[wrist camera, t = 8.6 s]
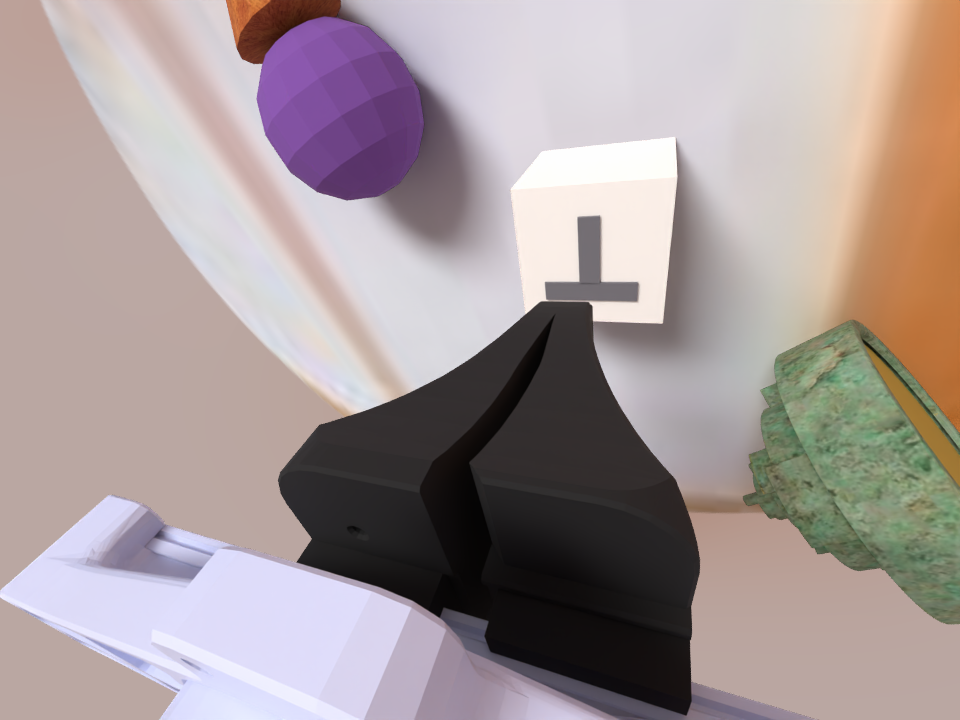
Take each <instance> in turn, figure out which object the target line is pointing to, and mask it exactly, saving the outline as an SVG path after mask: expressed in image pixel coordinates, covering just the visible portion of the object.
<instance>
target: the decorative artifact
mask: <svg viewBox="0 0 960 720" xmlns="http://www.w3.org/2000/svg"><path fill="white" fill-rule="evenodd" d="M774 369H775V377H776V382H777V383H775V384H773V385H771V386H768V387H766V388H764V389H762V390H760V391H761V393H762V394H763V396H764V398H765V400H766V401H767V403H768V405H769V407H770V408H767V409H765V410H764V411H763V413H762V415H761V430H762V435H763V439H764V443H765V446H766V449H763V450H761V451H758V452H755V453H752V454H749V458H750V462H751V463H750V464H749V468H750V469H751V471H752V472H753V482H754V486H755V489H756V492H755V493H752V494H748V495H745V496H743V500H744V502H745V503H746V505H747V506H751V505H755V504H759V505H760V506H761V508H762V509H763V511H764V512H765V514H766V515H767V516H768V517H769V518H770V519H772V518H777V519H779V520H783V519H786V518H788V519H789V520H790V522H791V523H792V524H793V525H795V527H797V528H798V529H799V531H800V532H801V534H802V535H803V537H804V538H805V539H806V541H807V542H808V543H809V545H810V546H811V547H812V548H815V550H816V552H817V554H824V553H829V552H830V553H831V554H833V555H834V556H835V557H836V558H837V559H838V560H839V561H840V562H841V563H843V564H844V565H846V566H847V567H849V568H851V569H853V570H857V571H863V570H870V569H877V568H881V569H882V570H885V571H886V572H887V573H888V574H889V576H890V577H891V578H892V579H893V580H894V581H895V583H896V584H897V585H898V586H899V587H900V588H901V589H902V590H903V591H904V592H905V593H906V594H907V595H908V596H909V597H910V598H911V599H912V600H913V601H914V602H915V603H916V604H917V605H918V606H919V607H921V608H922V609H923V610H924V611H925V612H927V613H928V614H929V615H931V616H932V617H933V618H935V619H937V620H938V621H940V622H943V623H946V624H960V433H959V432H958V431H957V429H956V428H955V427H954V426H953V424H952V423H951V422H950V421H949V419H948V418H947V417H946V416H945V414H944V413H943V412H942V411H941V409H940V408H939V407H938V406H937V404H936V403H935V402H934V401H933V400H932V398H931V397H930V396H929V395H928V393H927V392H926V391H925V390H924V389H923V387H922V386H921V385H920V384H919V383H918V382H917V380H916V379H915V378H914V377H913V376H912V375H911V373H910V372H909V371H908V370H907V369H906V368H905V367H904V365H903V364H902V363H901V362H900V361H899V360H898V359H897V358H896V357H895V355H894V354H893V353H892V352H891V351H890V350H889V349H888V348H887V347H886V346H885V345H884V344H883V343H882V342H881V341H880V340H879V339H878V338H877V337H876V336H875V335H874V334H873V333H872V332H871V331H870V330H868V329H867V328H866V327H865V326H864V325H862V324H861V323H859V322H857V321H855V320H850V321H848V322H845V323H843V324H841V325H839V326H837V327H835V328H833V329H831V330H829V331H827V332H825V333H823V334H821V335H819V336H817V337H815V338H812V339H810V340H808V341H806V342H804V343H802V344H800V345H798V346H796V347H794V348H792V349H790V350H788V351H786V352H784V353H782V354H780V355H778V356H777V357H776V360H775V365H774Z"/></svg>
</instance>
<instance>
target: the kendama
mask: <svg viewBox="0 0 960 720" xmlns="http://www.w3.org/2000/svg"><path fill="white" fill-rule="evenodd" d="M226 2H227V7H228V11H229V16H230V20H231V25H232V29H233V34H234V38H235V43H236V47H237V50H238V52H239V54H240V56H241V58H242V59H243V60H246V61H248V62H250V63H253V64H262V69H261V75H260V81H259V87H258V93H257V103H258V107H259V111H260V115H261V119H262V123H263V127H264V131H265V135H266V136H267V138H268V140H269V141H270V143H271V144H272V146H273V147H274V149H275V150H276V152H277V153H278V155H279V156H280V158H281V159H282V161H283V162H284V164H285V165H286V167H287V168H288V170H289V171H290V172H291V173H292V174H293V175H295V176H296V177H297V178H299V179H300V180H302V181H303V182H304V183H306V184H307V185H308V186H310V187H311V188H312V189H314V190H315V191H316V192H319V193H322V194H326V195H330V196H333V197H337V198H340V199H344V200H354V199H362V198H370V197H377V196H379V195H381V194H383V193H385V192H387V191H388V190H390V189H392V188H393V187H395V186H396V185H397V184H399V183H400V182H401V181H402V179H403V178H404V176H405V175H406V173H407V172H408V170H409V169H410V167H411V166H412V164H413V163H414V161H415V160H416V158H417V157H418V153H419V148H420V143H421V138H422V134H423V129H424V120H423V113H422V107H421V100H420V93H419V90H418V88H417V86H416V84H415V82H414V80H413V78H412V77H411V75H410V73H409V71H408V69H407V67H406V65H405V63H404V61H403V60H402V58H401V57H400V56H399V55H398V54H397V53H396V52H395V51H394V50H393V49H392V48H391V47H390V46H389V45H388V44H386V43H385V42H384V41H383V40H382V39H381V38H380V37H379V36H377V35H376V34H375V33H374V32H373V31H372V30H371V29H370V28H369V27H366V26H363V25H360V24H356V23H353V22H350V21H347V20H343V19H340V18H337V17H336V16H337V14H338V12H339V10H340V7H341V0H226Z"/></svg>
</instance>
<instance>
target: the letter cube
mask: <svg viewBox="0 0 960 720" xmlns="http://www.w3.org/2000/svg"><path fill="white" fill-rule="evenodd" d="M676 186H677V159H676V138H675V137H672V138H662V139H653V140H644V141H634V142H625V143H615V144H606V145H597V146H587V147H578V148H568V149H559V150H550V151H542V152H541V154H540V155H539V156H538V157H537V158H536V160H535V161H534V162H533V163H532V164H531V166H530V167H529V168H528V169H527V170H526V172H525V173H524V174H523V175H522V176H521V178H520V179H519V180H518V181H517V182H516V184H515V185H514V186H513V187H512V188H511V190H510V192H511V200H512V208H513V216H514V224H515V232H516V241H517V249H518V257H519V265H520V273H521V281H522V290H523V298H524V306H525V314H527V313H528V312H529V311H530V310H531V309H532V308H533V307H534V306H536V305H537V304H538V303H539V302H541V301H562V302H589V303H590V304H591V305H592V306H593V321H600V322H630V323H659V324H663V317H664V306H665V296H666V286H667V276H668V266H669V256H670V246H671V236H672V226H673V216H674V206H675V196H676Z"/></svg>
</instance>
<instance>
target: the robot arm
mask: <svg viewBox="0 0 960 720" xmlns="http://www.w3.org/2000/svg"><path fill="white" fill-rule="evenodd" d="M278 482H279V487H280V491H281V495H282V497H283V498H284V500H285V501H286V503H287V505H288V506H289V508H290V509H291V510H292V512H293V513H294V514H295V516H296V517H297V519H298V520H299V521H300V523H301V524H302V526H303V527H304V528H305V530H306V531H307V532H308V534H309V535H310V536H311V538H312V540H311V541H310V543H309V544H308V546H307V547H306V549H305V550H304V552H303V553H302V555H301V556H300V558H299V559H298V561H297V562H293V561H289V560H286V559H282V558H279V557H276V556H272V555H269V554H265V553H262V552H259V551H256V550H252V549H249V548H242V547H239V546H236V545H232V544H229V543H226V542H222V541H219V540H216V539H212V538H209V537H206V536H202V535H199V534H196V533H192V532H189V531H186V530H182V529H179V528H176V527H172V526H169V525H165V524H164V521H163V520H162V518H160V517H159V516H158V514H157V513H155V512H154V511H153V510H152V509H151V508H149V507H147V506H146V505H144V504H142V503H140V502H137V501H133V500H130V499H126V498H123V497H119V496H115V495H109V496H107V497H106V498H105V499H104V500H103V501H101V502H100V503H99V504H98V505H97V506H96V507H95V508H93V509H92V510H91V511H90V512H89V513H88V514H87V515H85V516H84V517H83V518H82V519H81V520H80V521H79V522H78V523H77V524H75V525H74V526H73V527H72V528H71V529H70V530H69V531H67V532H66V533H65V534H64V535H63V536H62V537H60V538H59V539H58V540H57V541H56V542H55V543H54V544H53V545H51V546H50V547H49V548H48V549H47V550H46V551H45V552H43V554H41V555H40V556H39V557H38V558H37V559H35V560H34V561H33V562H32V563H31V564H30V565H29V566H27V567H26V568H25V569H24V570H23V571H22V572H21V573H20V574H18V575H17V576H16V577H15V578H14V579H13V580H12V581H11V582H9V583H8V584H7V585H6V586H5V587H4V588H3V589H1V590H0V598H2V599H3V600H5V601H7V602H9V603H11V604H12V605H14V606H16V607H18V608H19V609H21V610H23V611H25V612H26V613H28V614H30V615H32V616H33V617H35V618H37V619H39V620H40V621H42V622H44V623H46V624H47V625H49V626H51V627H53V628H54V629H56V630H58V631H60V632H61V633H63V634H65V635H67V636H69V637H70V638H72V639H74V640H76V641H78V642H79V643H81V644H83V645H85V646H86V647H88V648H90V649H92V650H95V651H96V652H99V653H100V654H102V655H104V656H106V657H108V658H110V659H112V660H115V661H116V662H118V663H120V664H122V665H124V666H126V667H128V668H130V669H132V670H134V671H136V672H138V673H140V674H142V675H143V676H145V677H147V678H149V679H151V680H153V681H155V682H157V683H159V684H161V685H163V686H165V687H167V688H169V689H170V690H172V691H175V692H176V693H178V694H177V695H176V697H175V698H174V700H173V701H172V703H171V704H170V705H169V707H168V708H167V710H166V711H165V712H164V714H163V715H162V717H161V718H160V719H159V720H817V719H814V718H811V717H807V716H804V715H801V714H797V713H794V712H790V711H787V710H784V709H781V708H777V707H774V706H770V705H767V704H764V703H760V702H757V701H754V700H751V699H747V698H744V697H740V696H737V695H734V694H730V693H727V692H723V691H720V690H717V689H714V688H710V687H707V686H704V685H700V684H697V683H693V682H691V664H690V663H691V661H690V640H691V637H692V618H691V605H692V601H693V596H694V593H695V589H696V585H697V581H698V577H699V573H700V557H699V551H698V546H697V541H696V537H695V533H694V529H693V526H692V523H691V520H690V517H689V514H688V511H687V508H686V505H685V503H684V500H683V498H682V495H681V492H680V490H679V487H678V485H677V482H676V480H675V478H674V477H673V476H672V475H671V474H670V473H669V472H668V471H667V470H666V468H665V467H664V466H663V465H662V464H661V463H660V462H659V460H658V459H657V458H656V457H655V456H654V454H653V453H652V452H651V451H650V450H649V448H648V447H647V446H646V444H645V443H644V442H643V440H642V439H641V438H640V436H639V435H638V434H637V432H636V431H635V429H634V428H633V426H632V425H631V423H630V422H629V420H628V419H627V417H626V415H625V414H624V412H623V411H622V409H621V408H620V406H619V404H618V402H617V400H616V399H615V397H614V395H613V393H612V391H611V389H610V387H609V385H608V383H607V380H606V378H605V376H604V373H603V371H602V368H601V365H600V363H599V360H598V357H597V354H596V350H595V346H594V342H593V306H592V305H591V304H590V303H589V302H562V301H541V302H539V303H538V304H537V305H536V306H534V307H533V308H532V309H531V310H530V311H529V312H528V313H527V314H525V315H524V316H523V317H522V318H521V319H520V320H519V321H518V322H516V323H515V324H514V325H513V326H512V327H511V328H509V329H508V330H507V331H506V332H505V333H503V334H502V335H501V336H500V337H499V338H497V339H496V340H495V341H493V342H492V343H491V344H489V345H488V346H487V347H486V348H484V349H483V350H482V351H480V352H479V353H478V354H476V355H475V356H474V357H472V358H471V359H469V360H468V361H466V362H465V363H463V364H462V365H460V366H459V367H457V368H455V369H454V370H452V371H450V372H449V373H447V374H445V375H444V376H442V377H440V378H438V379H436V380H434V381H432V382H430V383H428V384H426V385H424V386H422V387H420V388H418V389H416V390H414V391H412V392H410V393H408V394H406V395H404V396H401V397H399V398H397V399H394V400H392V401H390V402H387V403H385V404H382V405H379V406H377V407H374V408H372V409H369V410H366V411H363V412H360V413H357V414H354V415H351V416H347V417H344V418H341V419H338V420H335V421H332V422H328V423H325V424H321V425H319V426H318V427H317V428H316V430H315V431H314V432H313V433H312V434H311V436H310V437H309V438H308V439H307V441H306V442H305V443H304V444H303V445H302V447H301V448H300V449H299V450H298V451H297V453H296V454H295V455H294V456H293V458H292V459H291V460H290V461H289V462H288V464H287V465H286V466H285V467H284V468H283V470H282V471H281V472H280V475H279V479H278Z"/></svg>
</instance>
